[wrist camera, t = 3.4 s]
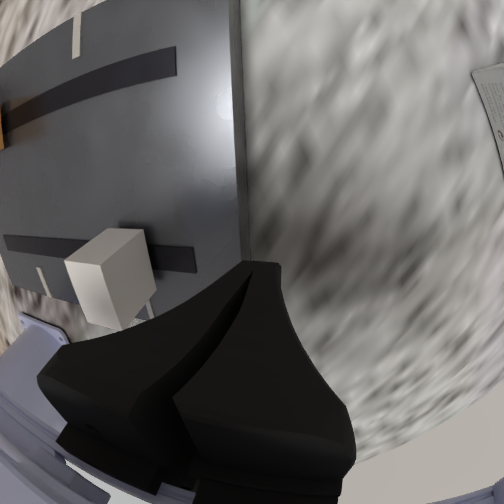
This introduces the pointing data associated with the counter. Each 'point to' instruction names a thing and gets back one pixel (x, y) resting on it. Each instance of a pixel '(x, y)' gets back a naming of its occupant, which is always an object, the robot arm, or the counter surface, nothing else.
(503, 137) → the small box
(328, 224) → the counter surface
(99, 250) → the white fader
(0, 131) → the orange fader
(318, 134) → the counter surface
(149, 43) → the console board
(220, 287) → the robot arm
